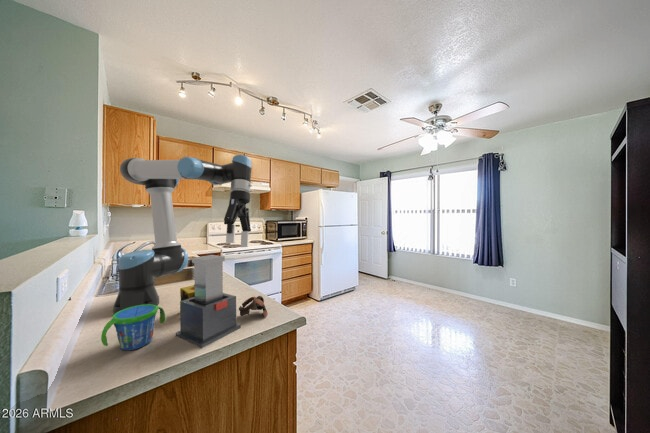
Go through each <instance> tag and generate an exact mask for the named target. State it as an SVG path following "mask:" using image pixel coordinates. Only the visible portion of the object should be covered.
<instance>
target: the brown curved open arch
mask: <svg viewBox="0 0 650 433" xmlns="http://www.w3.org/2000/svg"><path fill="white" fill-rule="evenodd" d="M238 311H239V316H240V317H245V316H250V311H262V314H261V315H262V316H263V318H264V319H266V318H267V316H268V312H267V311H268V310H267V309H266V305H265V300H264V297H263V295H258V296H251V297H249V298H247V299H245V301H244V302H242V303H241V305H240V306H238Z"/></svg>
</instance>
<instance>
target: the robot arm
mask: <svg viewBox="0 0 650 433" xmlns="http://www.w3.org/2000/svg"><path fill="white" fill-rule="evenodd" d="M119 171H120V172H119V173H120V174H121V176H122V177H123V179H125V180H126V181H128V182H129V183H131V184H134V185H140V186H144V188H145V189H144V190H145V192H146V193H148V194H149V197H150V207H151V216H152V225H153V227H152V228H153V235H154V245H153V246H152V247H151V249H141V250H133V251H130V252H127V253H124V254H122V255H121V256H120V257H119V259H118V266H117V269H118V294H117V296H116V298H115V302H114V303H113V308H112V309H113V310H112V311H113V313H114V314H115V313H117V312H119V311H121V310H123V309H126V308H129V307H133V306H138V305H146V304H152V305H156V306H158V305H159V304H160V296H159V294H158V292H157V289H156V287H155V279H156V278H160V277H164V276H168V275H175V274H177V273H179V272H181V271H183V270H184V269H185V267H187V266H188V263H189V262H188V261H189V255H188V252H187V250H186V249H185V248H182V244H181V243H180V242H178V241H177V240H178V239H177V230H176V222H175V221H176V220H175V213H174V203H173V196H172V194H173V193H174V191H175V190H176V189H175V188H176V187H177V186H178V185H179V182H180V180H198V181H204V182H205V181H206V182H209V183H210V184H211V185H213V186H217V185H220V186H221V185H224V184H228V183H230V193H229V201H228V206H227V210H226V212H225V215H224V218H223V223H224V225H226V232H225V233H226V234H225V235H226V236H225V237H226V238H225V244H234V243H235V239H236V238H235V237H236V236H235V234H236V224H235V223H236V221H237V219H239V222H240V227H241V230H242V231H241V232H240V234H241V235H240V248H248V247H249V232H251V231H252V229H251V221H250V220H251V219H250V214H249V213H250V209H249V208H248V207H246V206H247V204H249V203H250V202H251V194H250V193H251V187H253V186H252V183H251V177H252V160H251V158H250V157H248V156H247V155H244V154H235V155H234V156H233V157H232V160H231V163H227V164H218V163H213V162H209V161H206V160H202V159H198V158H196V157H191V156H183V157H182V158H180V159H152V160H151V159H149V160H148V159H144V158H143V157H131V158H129V157H128V158H126V159H125V160H123V161H122V162H121V164H120V165H119Z"/></svg>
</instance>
